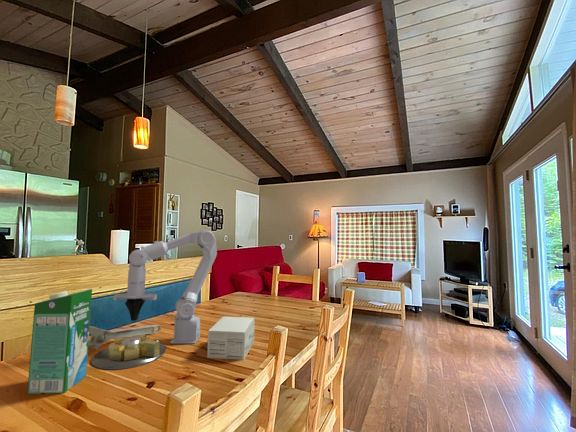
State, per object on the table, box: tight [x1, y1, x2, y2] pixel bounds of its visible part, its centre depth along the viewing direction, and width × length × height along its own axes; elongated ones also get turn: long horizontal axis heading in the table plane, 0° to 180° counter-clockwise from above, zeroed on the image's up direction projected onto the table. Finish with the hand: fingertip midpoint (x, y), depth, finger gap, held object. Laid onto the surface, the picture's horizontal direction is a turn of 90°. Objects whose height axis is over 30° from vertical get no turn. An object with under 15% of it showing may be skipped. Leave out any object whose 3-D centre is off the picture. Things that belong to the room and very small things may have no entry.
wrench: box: [88, 324, 162, 350], centre depth 108 cm, size 8×2×30 cm
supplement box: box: [206, 316, 255, 361], centre depth 102 cm, size 17×13×9 cm
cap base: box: [90, 336, 166, 371], centre depth 96 cm, size 22×22×5 cm
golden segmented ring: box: [108, 334, 161, 361], centre depth 95 cm, size 13×17×4 cm
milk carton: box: [26, 288, 93, 395], centre depth 77 cm, size 9×9×25 cm
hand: (134, 319), depth 102 cm, fingers closed
